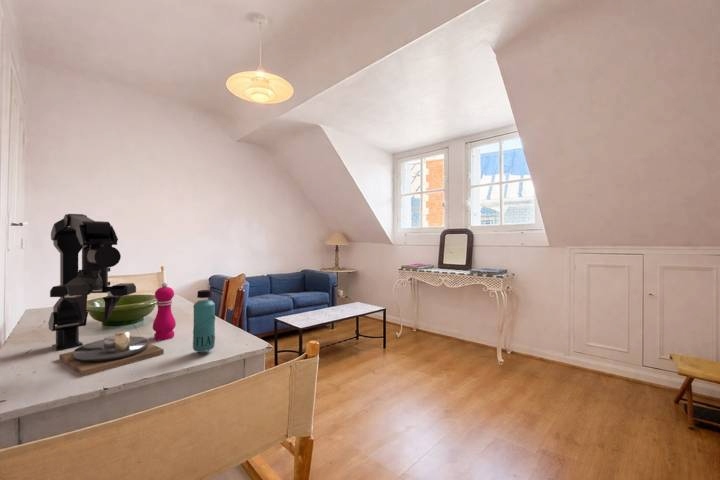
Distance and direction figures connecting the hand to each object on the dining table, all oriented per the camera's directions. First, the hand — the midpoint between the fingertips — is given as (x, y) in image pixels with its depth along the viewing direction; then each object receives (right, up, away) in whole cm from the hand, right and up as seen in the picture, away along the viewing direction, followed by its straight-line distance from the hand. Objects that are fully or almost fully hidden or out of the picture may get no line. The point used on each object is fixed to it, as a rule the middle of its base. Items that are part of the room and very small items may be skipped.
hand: (94, 320), depth 91 cm
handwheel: (0, -11, +7) cm, 13 cm away
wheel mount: (0, -13, +7) cm, 15 cm away
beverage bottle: (+26, -13, +11) cm, 31 cm away
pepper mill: (+4, -13, +26) cm, 29 cm away
